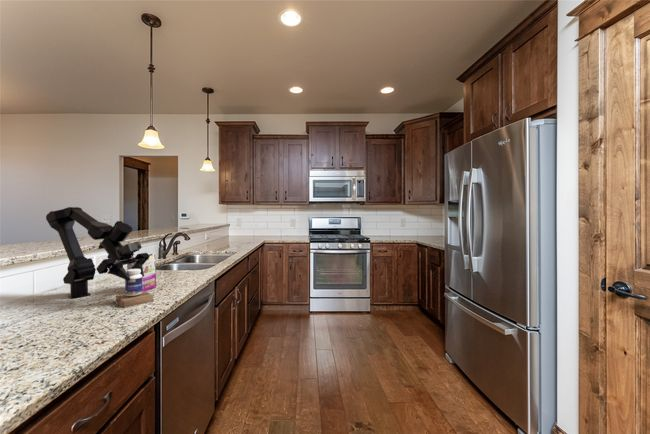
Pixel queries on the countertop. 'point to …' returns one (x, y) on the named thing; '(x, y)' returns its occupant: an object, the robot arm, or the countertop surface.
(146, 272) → the candy bar box
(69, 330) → the countertop surface
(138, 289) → the pill bottle
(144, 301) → the walnut block
